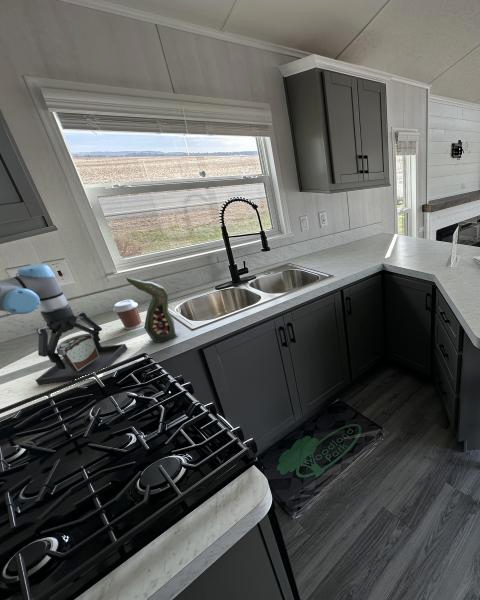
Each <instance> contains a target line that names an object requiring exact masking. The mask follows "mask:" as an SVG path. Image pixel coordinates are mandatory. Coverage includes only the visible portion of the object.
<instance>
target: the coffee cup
mask: <svg viewBox="0 0 480 600" xmlns="http://www.w3.org/2000/svg"><path fill="white" fill-rule="evenodd" d="M138 305H139V304H138V302H137V301H134V300H133V299H125V300H120V301H118V302H115V304H114V305H113V306H114V307H113V308H112V311H113V312H114V313H116V314H117V316H118V318H119V320H120V321H121V323H122V325H123V326H124V329H126V330H132V329H136V328H138V327H141V326H142V324H143V322H142V319H141V316H140V313H139V308H138Z"/></svg>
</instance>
